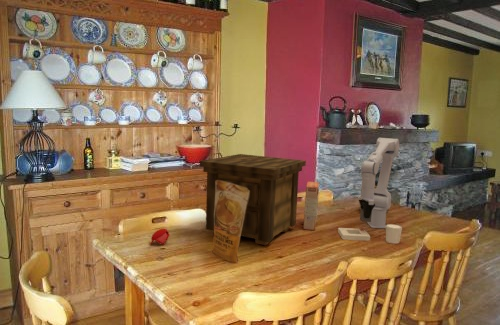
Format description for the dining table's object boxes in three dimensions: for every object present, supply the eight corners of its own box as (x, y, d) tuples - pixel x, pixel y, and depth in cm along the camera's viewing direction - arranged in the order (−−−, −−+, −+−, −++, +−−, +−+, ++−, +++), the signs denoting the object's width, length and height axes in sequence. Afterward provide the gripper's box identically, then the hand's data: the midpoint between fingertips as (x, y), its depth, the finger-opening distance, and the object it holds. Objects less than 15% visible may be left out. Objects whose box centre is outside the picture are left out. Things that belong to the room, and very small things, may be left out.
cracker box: (315, 230, 188) (318, 187, 185) (302, 229, 189) (305, 186, 186) (317, 222, 201) (319, 181, 198) (304, 221, 203) (307, 180, 200)
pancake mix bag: (220, 246, 162) (222, 178, 158) (249, 262, 147) (251, 187, 143) (205, 249, 158) (207, 179, 154) (234, 265, 143) (236, 188, 139)
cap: (170, 232, 167) (157, 225, 166) (172, 231, 162) (159, 224, 161) (160, 249, 165) (147, 242, 163) (162, 249, 159) (149, 242, 158)
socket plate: (337, 231, 187) (338, 226, 187) (363, 233, 187) (364, 227, 187) (342, 239, 177) (343, 233, 176) (370, 240, 176) (370, 235, 176)
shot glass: (390, 244, 172) (391, 228, 171) (381, 239, 179) (382, 224, 178) (404, 243, 174) (405, 228, 173) (394, 238, 181) (395, 223, 180)
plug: (359, 219, 186) (360, 208, 185) (368, 219, 186) (369, 209, 185) (362, 221, 182) (362, 210, 181) (370, 222, 182) (371, 211, 181)
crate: (301, 228, 190) (305, 160, 186) (270, 250, 159) (274, 169, 155) (237, 217, 206) (239, 154, 202) (198, 234, 176) (199, 161, 171)
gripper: (355, 184, 189) (353, 212, 191) (363, 190, 175) (360, 220, 176) (370, 184, 189) (367, 212, 191) (379, 191, 174) (376, 221, 176)
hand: (365, 216), depth 184 cm, fingers closed on plug, 4 cm apart
